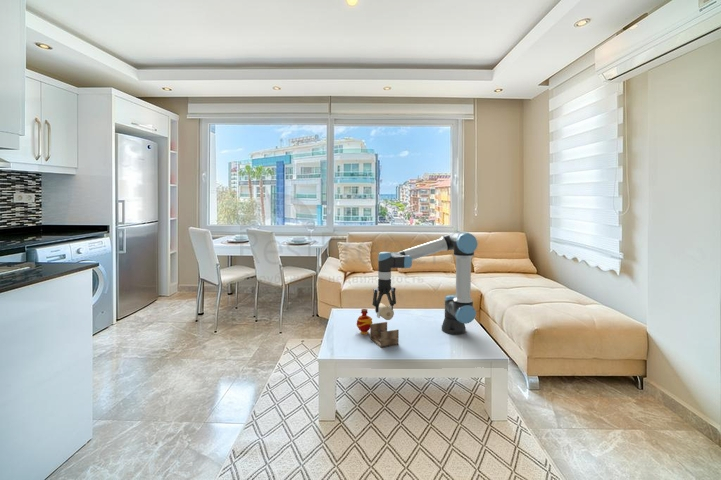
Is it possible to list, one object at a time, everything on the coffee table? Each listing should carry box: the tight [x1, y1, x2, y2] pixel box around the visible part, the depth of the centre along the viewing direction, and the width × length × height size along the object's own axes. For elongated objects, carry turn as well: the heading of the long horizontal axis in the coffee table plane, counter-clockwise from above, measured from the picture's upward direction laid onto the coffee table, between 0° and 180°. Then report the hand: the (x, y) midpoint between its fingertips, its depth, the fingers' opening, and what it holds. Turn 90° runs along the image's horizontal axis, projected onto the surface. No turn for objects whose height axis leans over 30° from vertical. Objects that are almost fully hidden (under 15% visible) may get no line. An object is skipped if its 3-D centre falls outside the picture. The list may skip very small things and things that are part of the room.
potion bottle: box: [356, 308, 374, 335], centre depth 220 cm, size 10×10×15 cm
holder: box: [369, 321, 399, 349], centre depth 205 cm, size 11×16×9 cm
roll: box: [374, 302, 395, 321], centre depth 204 cm, size 7×12×7 cm, turn 22°
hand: (384, 316), depth 204 cm, fingers closed on roll, 7 cm apart
